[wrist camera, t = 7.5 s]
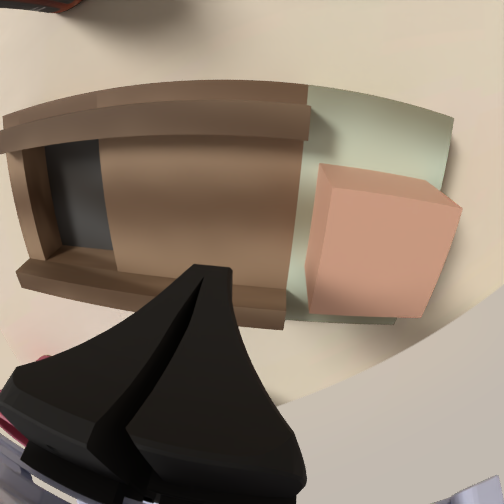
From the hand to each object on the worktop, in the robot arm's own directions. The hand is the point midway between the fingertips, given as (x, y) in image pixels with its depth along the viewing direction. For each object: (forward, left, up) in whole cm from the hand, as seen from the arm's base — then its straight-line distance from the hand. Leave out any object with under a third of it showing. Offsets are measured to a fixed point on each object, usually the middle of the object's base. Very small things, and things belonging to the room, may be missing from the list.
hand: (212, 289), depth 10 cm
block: (0, -7, -6) cm, 9 cm away
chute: (0, +3, -9) cm, 10 cm away
